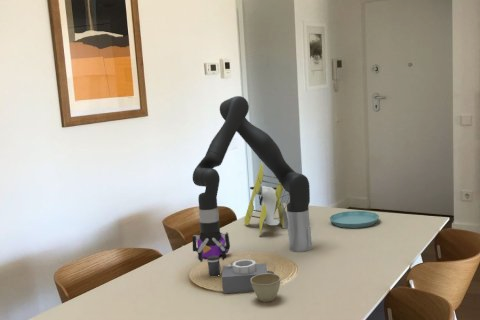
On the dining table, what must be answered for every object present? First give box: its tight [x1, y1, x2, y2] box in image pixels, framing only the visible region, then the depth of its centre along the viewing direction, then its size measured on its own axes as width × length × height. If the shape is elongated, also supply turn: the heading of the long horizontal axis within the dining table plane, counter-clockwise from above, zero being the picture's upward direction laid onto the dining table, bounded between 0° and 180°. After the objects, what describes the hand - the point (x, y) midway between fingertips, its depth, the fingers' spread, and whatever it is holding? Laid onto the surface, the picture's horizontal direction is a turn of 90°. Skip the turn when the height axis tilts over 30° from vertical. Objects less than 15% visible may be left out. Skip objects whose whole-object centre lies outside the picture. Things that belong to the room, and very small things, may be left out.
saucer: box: [329, 210, 380, 229], centre depth 256 cm, size 24×24×3 cm
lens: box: [206, 256, 222, 277], centre depth 198 cm, size 5×5×7 cm
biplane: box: [244, 161, 290, 238], centre depth 254 cm, size 39×30×20 cm
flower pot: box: [251, 273, 281, 303], centre depth 171 cm, size 10×10×7 cm
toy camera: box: [196, 232, 230, 259], centre depth 222 cm, size 11×14×10 cm
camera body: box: [221, 259, 268, 294], centre depth 184 cm, size 16×11×8 cm
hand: (212, 260), depth 198 cm, fingers open, 8 cm apart
